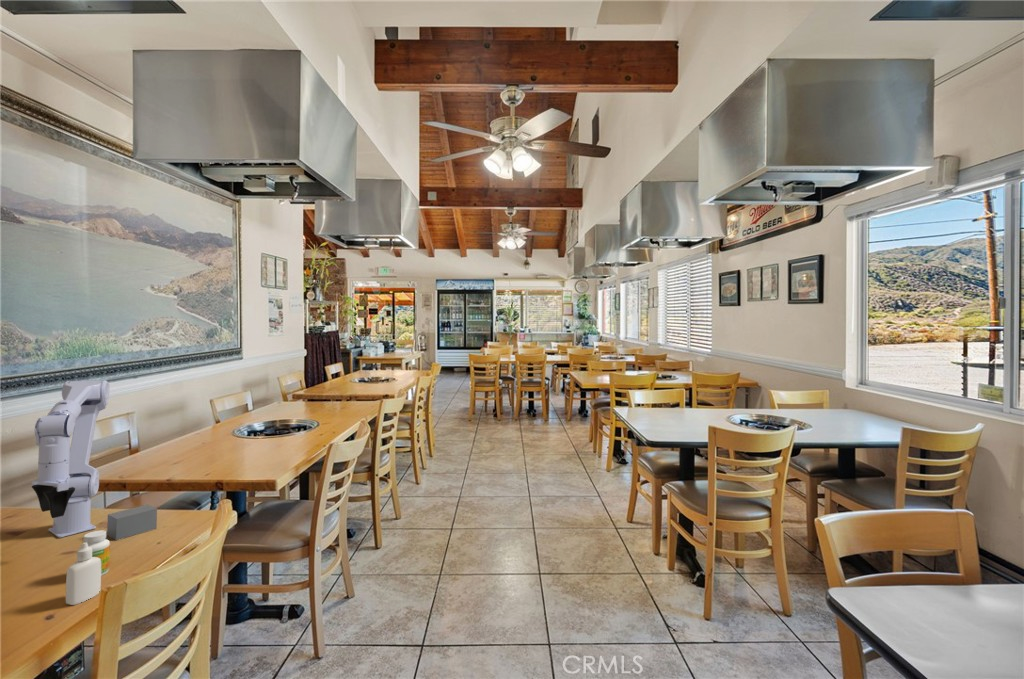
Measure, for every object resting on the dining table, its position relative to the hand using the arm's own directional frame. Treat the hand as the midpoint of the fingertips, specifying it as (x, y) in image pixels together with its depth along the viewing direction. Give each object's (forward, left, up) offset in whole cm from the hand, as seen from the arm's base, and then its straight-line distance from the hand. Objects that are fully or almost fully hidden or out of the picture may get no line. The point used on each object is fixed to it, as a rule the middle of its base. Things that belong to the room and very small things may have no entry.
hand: (52, 513), depth 118 cm
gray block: (+1, +17, -10) cm, 20 cm away
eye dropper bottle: (+33, -3, -11) cm, 35 cm away
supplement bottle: (+22, +2, -11) cm, 25 cm away
